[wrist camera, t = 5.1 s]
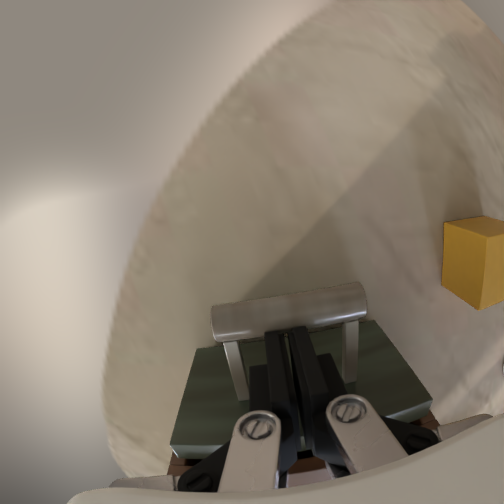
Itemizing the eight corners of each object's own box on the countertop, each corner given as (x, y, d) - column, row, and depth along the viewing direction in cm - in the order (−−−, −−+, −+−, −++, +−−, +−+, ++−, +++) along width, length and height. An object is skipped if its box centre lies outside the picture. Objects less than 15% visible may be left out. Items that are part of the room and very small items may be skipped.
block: (484, 215, 16) (526, 227, 11) (481, 273, 17) (518, 294, 12) (443, 222, 16) (487, 237, 11) (440, 285, 17) (478, 311, 13)
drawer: (176, 275, 16) (121, 353, 8) (373, 244, 15) (455, 297, 8) (237, 461, 20) (234, 531, 13) (361, 441, 20) (384, 506, 12)
